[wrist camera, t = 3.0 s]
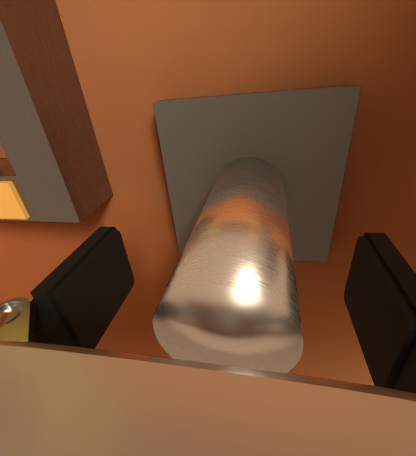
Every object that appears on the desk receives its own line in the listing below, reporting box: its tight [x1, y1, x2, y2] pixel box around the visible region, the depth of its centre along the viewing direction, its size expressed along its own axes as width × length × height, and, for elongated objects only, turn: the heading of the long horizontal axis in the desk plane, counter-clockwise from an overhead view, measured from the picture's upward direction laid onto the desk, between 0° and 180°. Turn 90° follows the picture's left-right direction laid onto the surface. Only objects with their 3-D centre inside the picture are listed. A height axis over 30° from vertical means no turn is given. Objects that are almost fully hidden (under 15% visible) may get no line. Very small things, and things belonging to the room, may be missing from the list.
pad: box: [153, 85, 361, 262], centre depth 16 cm, size 10×10×2 cm
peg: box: [153, 157, 303, 373], centre depth 11 cm, size 4×4×10 cm
